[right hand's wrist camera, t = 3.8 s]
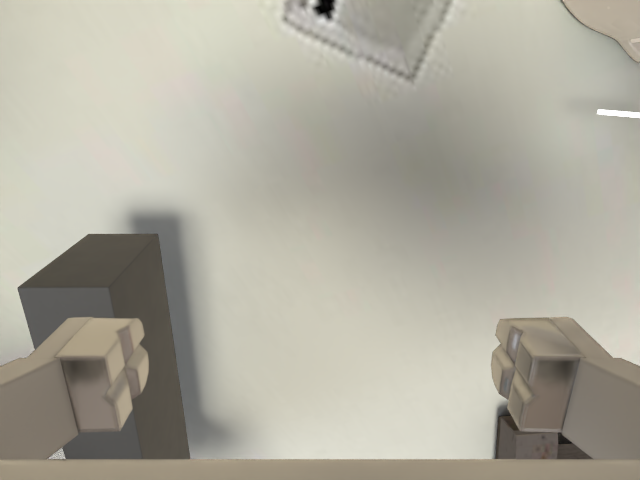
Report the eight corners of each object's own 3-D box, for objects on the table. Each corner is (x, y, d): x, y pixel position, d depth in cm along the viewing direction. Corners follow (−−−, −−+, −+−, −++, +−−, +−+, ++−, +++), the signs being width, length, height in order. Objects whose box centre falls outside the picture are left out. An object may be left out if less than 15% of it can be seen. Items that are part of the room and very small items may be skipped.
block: (88, 233, 34) (16, 287, 26) (158, 233, 34) (108, 287, 26) (141, 492, 45) (102, 589, 36) (195, 491, 45) (168, 588, 37)
